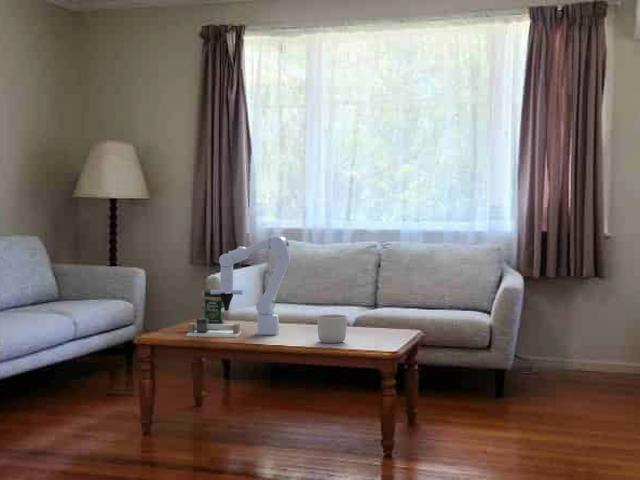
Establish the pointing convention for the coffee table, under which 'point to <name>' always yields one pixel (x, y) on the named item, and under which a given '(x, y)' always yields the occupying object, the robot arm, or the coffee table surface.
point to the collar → (202, 324)
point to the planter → (332, 328)
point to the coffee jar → (214, 307)
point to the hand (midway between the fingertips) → (226, 310)
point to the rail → (214, 333)
